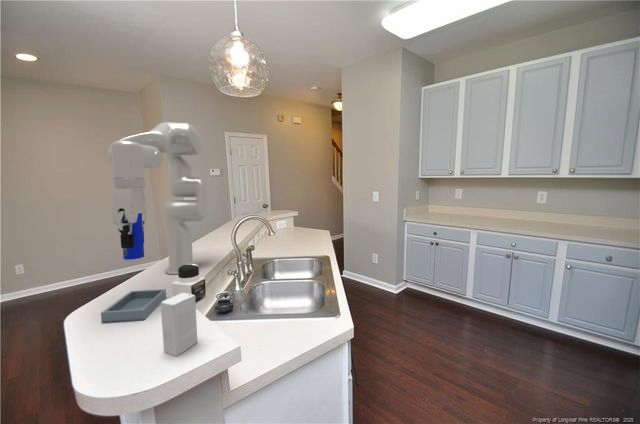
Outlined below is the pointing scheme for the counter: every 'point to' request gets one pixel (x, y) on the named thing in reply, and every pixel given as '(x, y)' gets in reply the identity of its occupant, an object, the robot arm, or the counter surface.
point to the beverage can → (135, 242)
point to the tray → (134, 306)
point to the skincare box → (179, 323)
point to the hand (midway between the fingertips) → (133, 245)
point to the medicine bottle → (190, 282)
